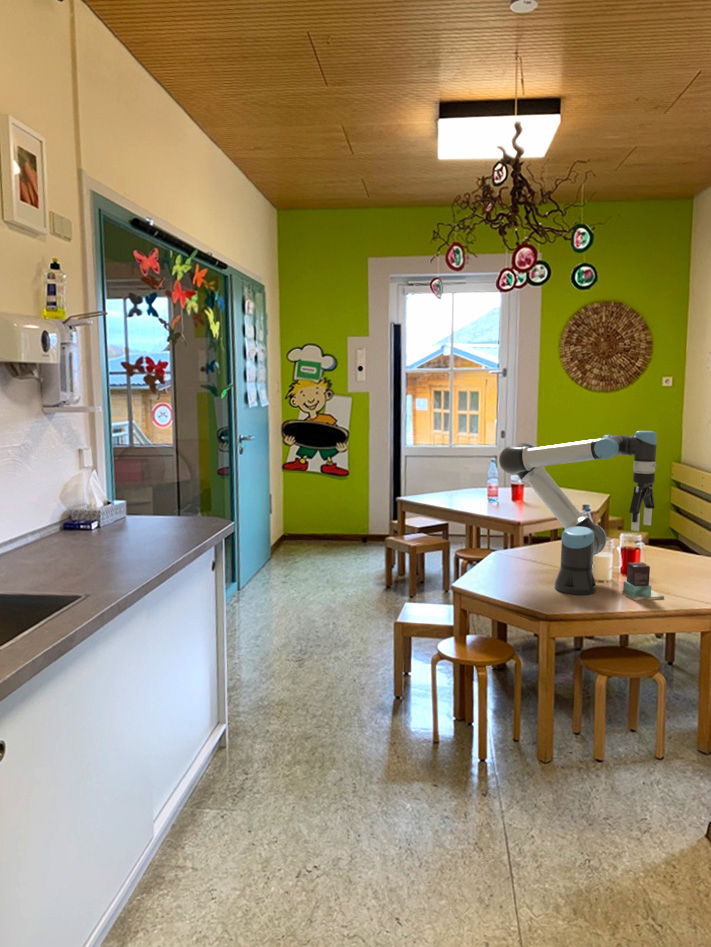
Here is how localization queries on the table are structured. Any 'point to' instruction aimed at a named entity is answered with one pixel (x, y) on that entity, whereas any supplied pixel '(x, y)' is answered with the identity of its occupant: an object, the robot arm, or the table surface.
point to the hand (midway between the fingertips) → (641, 527)
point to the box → (638, 574)
